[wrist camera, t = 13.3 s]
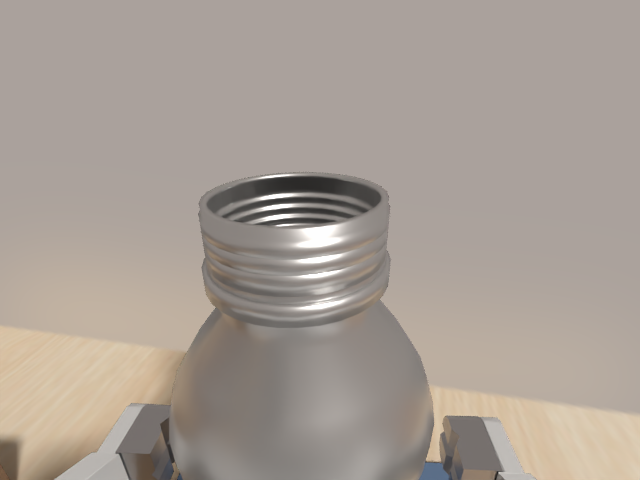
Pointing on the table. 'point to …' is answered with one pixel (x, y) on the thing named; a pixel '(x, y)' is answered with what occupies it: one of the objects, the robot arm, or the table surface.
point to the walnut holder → (3, 474)
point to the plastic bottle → (299, 340)
